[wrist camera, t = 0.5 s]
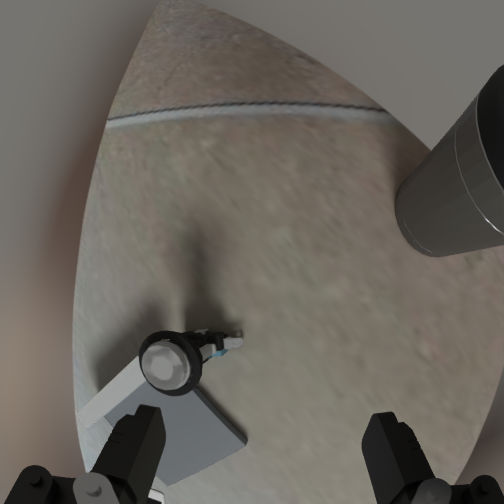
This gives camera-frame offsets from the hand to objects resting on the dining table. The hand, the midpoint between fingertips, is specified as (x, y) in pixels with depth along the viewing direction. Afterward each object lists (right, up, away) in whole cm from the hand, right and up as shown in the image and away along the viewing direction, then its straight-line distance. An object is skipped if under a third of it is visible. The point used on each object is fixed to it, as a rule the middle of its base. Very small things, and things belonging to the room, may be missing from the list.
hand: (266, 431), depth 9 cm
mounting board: (-11, -14, +20) cm, 27 cm away
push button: (-5, -3, +20) cm, 21 cm away
